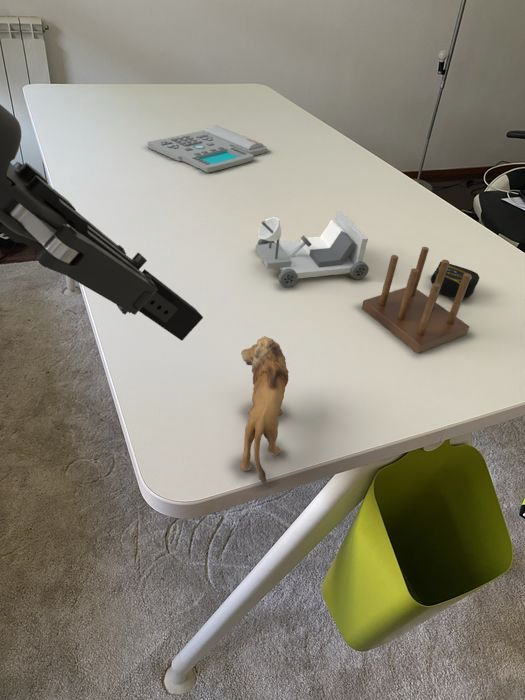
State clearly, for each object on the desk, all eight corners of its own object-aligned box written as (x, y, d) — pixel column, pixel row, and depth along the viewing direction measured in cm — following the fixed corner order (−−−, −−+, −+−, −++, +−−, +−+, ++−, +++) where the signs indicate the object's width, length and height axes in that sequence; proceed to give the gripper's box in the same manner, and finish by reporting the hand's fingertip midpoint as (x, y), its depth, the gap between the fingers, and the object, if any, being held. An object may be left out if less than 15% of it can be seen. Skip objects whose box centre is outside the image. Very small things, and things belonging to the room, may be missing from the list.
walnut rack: (466, 334, 80) (489, 278, 74) (417, 353, 76) (436, 295, 70) (409, 293, 88) (425, 239, 82) (361, 308, 83) (374, 252, 77)
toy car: (268, 232, 79) (245, 198, 87) (262, 290, 85) (241, 253, 93) (380, 223, 84) (347, 192, 92) (366, 279, 90) (337, 245, 98)
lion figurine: (237, 388, 67) (242, 329, 62) (280, 389, 68) (289, 330, 62) (239, 487, 56) (245, 425, 50) (291, 487, 56) (302, 427, 51)
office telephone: (220, 121, 141) (277, 143, 131) (219, 131, 142) (276, 154, 132) (146, 136, 126) (204, 162, 116) (146, 147, 128) (204, 174, 118)
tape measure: (475, 290, 90) (483, 270, 88) (465, 309, 85) (473, 288, 83) (435, 276, 93) (441, 256, 90) (423, 294, 88) (429, 273, 85)
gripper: (-134, 142, 34) (132, 319, 52) (-122, 223, 25) (192, 402, 43) (-56, 49, 33) (185, 259, 51) (-16, 99, 25) (258, 331, 42)
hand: (188, 324), depth 47 cm, fingers closed
